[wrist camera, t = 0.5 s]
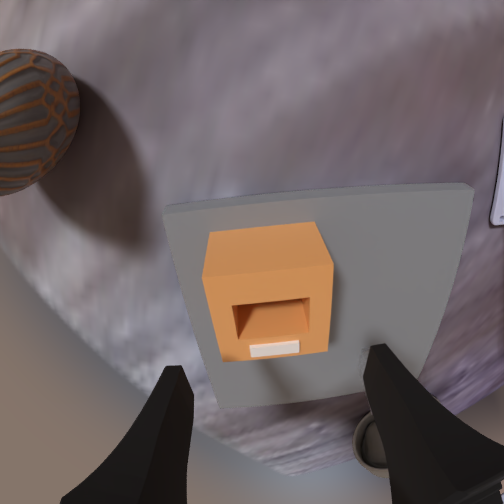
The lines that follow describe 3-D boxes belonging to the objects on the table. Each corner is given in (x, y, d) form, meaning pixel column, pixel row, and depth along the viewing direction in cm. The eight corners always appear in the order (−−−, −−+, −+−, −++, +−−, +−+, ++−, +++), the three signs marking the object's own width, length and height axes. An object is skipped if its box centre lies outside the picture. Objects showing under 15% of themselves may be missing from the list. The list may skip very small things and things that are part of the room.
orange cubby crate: (314, 221, 16) (335, 266, 13) (314, 302, 19) (328, 354, 15) (209, 232, 16) (201, 280, 13) (225, 311, 19) (222, 365, 16)
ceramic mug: (360, 441, 33) (373, 492, 27) (344, 419, 29) (360, 481, 23) (436, 407, 31) (456, 455, 25) (434, 378, 27) (461, 436, 21)
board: (463, 182, 16) (474, 189, 15) (413, 369, 26) (417, 378, 24) (166, 205, 17) (161, 214, 16) (220, 397, 26) (219, 408, 25)
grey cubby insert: (376, 345, 21) (395, 393, 18) (371, 365, 23) (387, 411, 19) (361, 348, 21) (378, 397, 18) (357, 368, 23) (371, 415, 19)
